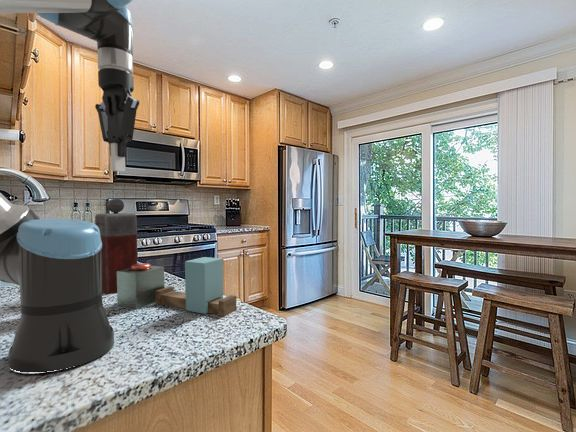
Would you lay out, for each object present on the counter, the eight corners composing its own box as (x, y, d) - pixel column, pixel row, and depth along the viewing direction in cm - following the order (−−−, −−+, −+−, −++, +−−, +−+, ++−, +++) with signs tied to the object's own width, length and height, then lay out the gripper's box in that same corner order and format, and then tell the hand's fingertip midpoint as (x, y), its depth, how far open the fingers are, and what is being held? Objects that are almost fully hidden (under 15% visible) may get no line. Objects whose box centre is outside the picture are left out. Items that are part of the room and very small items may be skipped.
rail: (236, 309, 78) (236, 295, 78) (224, 316, 73) (223, 301, 73) (170, 298, 87) (169, 286, 87) (155, 304, 83) (155, 290, 83)
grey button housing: (164, 299, 87) (163, 266, 86) (136, 309, 79) (135, 273, 78) (146, 296, 90) (145, 264, 89) (117, 305, 82) (116, 271, 81)
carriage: (223, 305, 81) (222, 258, 80) (205, 314, 75) (204, 263, 74) (204, 302, 83) (204, 257, 83) (185, 310, 77) (184, 261, 77)
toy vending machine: (123, 282, 106) (121, 199, 105) (138, 288, 99) (136, 198, 98) (93, 287, 99) (91, 198, 98) (107, 294, 92) (105, 198, 91)
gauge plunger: (143, 291, 81) (143, 267, 81) (127, 291, 82) (127, 266, 82) (154, 287, 86) (153, 263, 86) (139, 286, 87) (138, 263, 87)
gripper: (148, 74, 77) (150, 171, 78) (112, 82, 82) (114, 173, 83) (120, 61, 70) (122, 168, 71) (83, 72, 76) (86, 170, 77)
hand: (118, 170), depth 77 cm, fingers closed
